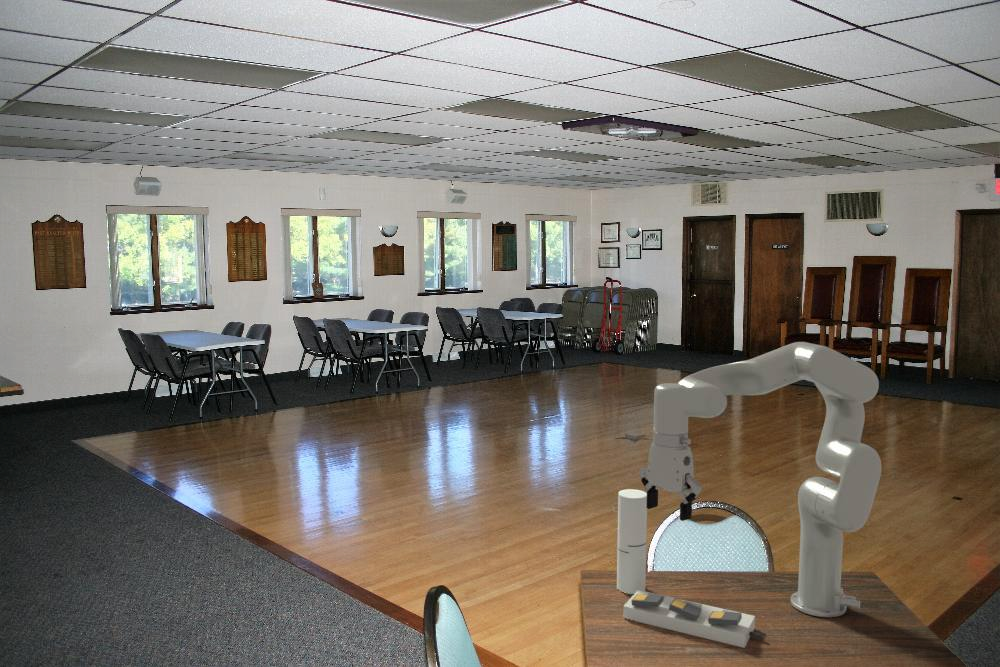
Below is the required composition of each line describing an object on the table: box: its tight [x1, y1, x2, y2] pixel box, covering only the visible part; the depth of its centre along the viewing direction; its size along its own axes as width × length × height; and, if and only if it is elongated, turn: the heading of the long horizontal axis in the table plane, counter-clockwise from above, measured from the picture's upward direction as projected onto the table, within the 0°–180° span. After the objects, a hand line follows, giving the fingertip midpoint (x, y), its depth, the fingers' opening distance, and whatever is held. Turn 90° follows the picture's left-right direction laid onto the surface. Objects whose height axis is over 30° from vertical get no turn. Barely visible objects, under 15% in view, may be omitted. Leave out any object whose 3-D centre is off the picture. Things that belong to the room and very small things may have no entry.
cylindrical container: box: [616, 488, 648, 595], centre depth 203 cm, size 7×7×25 cm
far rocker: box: [631, 594, 664, 607], centre depth 188 cm, size 6×4×1 cm, turn 60°
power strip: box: [622, 590, 765, 649], centre depth 185 cm, size 31×10×3 cm, turn 60°
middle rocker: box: [669, 597, 702, 620], centre depth 184 cm, size 6×4×1 cm, turn 61°
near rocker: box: [708, 611, 742, 626], centre depth 179 cm, size 6×4×1 cm, turn 60°
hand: (668, 513), depth 181 cm, fingers open, 9 cm apart
